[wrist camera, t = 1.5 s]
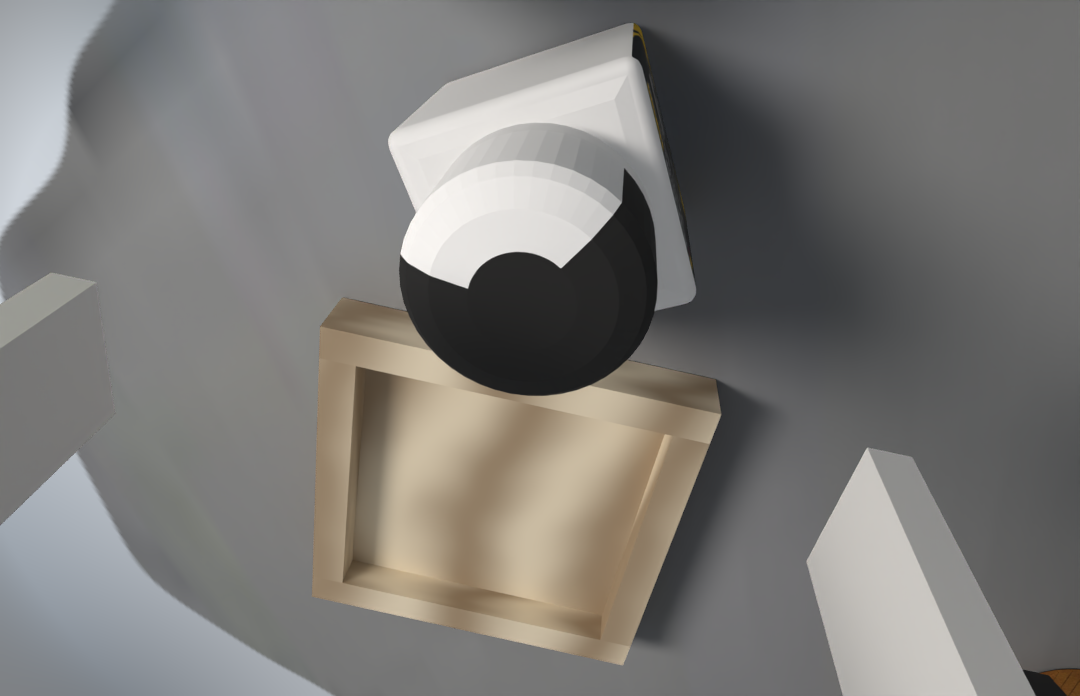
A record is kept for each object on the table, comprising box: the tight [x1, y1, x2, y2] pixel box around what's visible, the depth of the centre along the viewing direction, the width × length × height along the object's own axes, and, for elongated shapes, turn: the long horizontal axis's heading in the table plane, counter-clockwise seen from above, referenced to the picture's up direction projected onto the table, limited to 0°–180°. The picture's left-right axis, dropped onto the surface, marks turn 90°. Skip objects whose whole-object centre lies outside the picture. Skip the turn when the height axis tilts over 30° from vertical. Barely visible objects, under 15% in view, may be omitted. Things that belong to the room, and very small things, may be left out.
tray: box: [312, 298, 721, 665], centre depth 34 cm, size 16×16×2 cm
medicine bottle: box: [388, 23, 696, 396], centre depth 22 cm, size 7×7×12 cm
